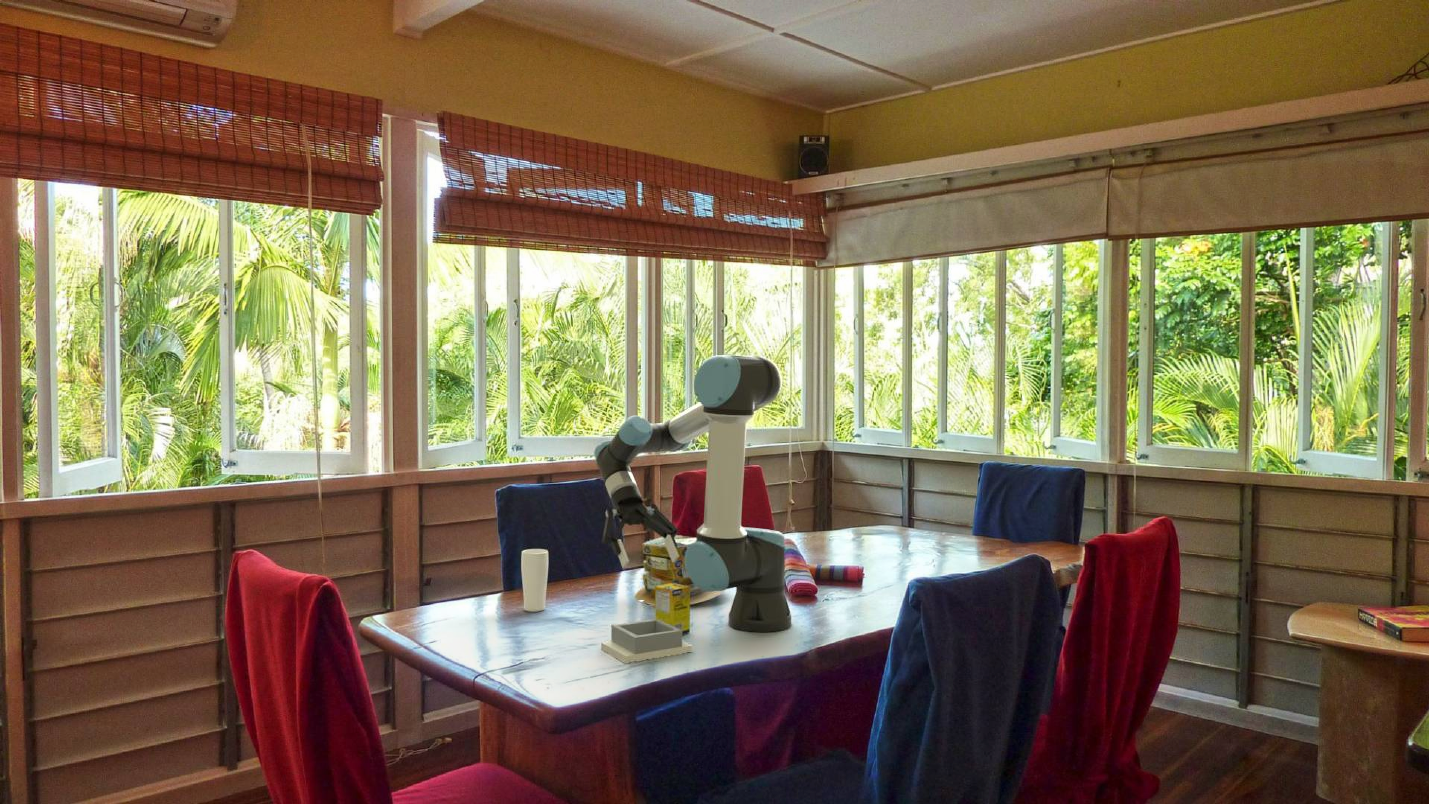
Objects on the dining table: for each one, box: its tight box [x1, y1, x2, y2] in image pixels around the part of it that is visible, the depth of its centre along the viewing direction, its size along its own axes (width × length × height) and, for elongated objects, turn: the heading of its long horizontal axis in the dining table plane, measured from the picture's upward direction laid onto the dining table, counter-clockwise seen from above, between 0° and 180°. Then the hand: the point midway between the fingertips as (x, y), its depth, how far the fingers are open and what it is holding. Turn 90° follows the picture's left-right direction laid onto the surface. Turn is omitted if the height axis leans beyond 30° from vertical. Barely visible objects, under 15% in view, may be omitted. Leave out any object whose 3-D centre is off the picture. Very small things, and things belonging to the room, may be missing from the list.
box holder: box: [600, 618, 693, 664], centre depth 208 cm, size 16×12×5 cm
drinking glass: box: [520, 548, 549, 613], centre depth 242 cm, size 7×7×15 cm
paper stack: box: [634, 534, 727, 607], centre depth 258 cm, size 25×25×17 cm
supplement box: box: [654, 583, 691, 635], centre depth 222 cm, size 6×6×11 cm
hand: (651, 562), depth 231 cm, fingers open, 13 cm apart
